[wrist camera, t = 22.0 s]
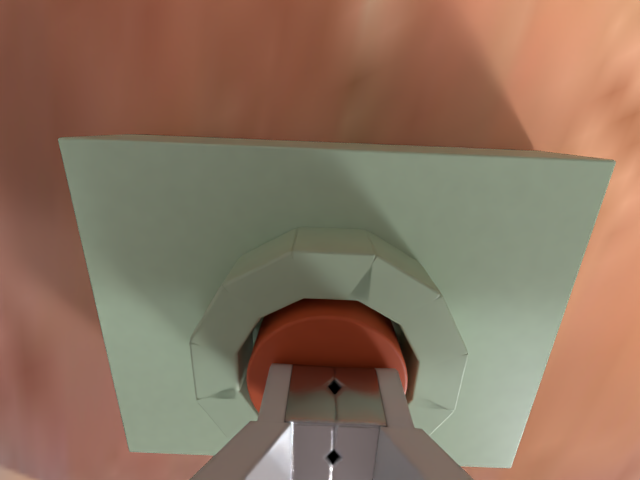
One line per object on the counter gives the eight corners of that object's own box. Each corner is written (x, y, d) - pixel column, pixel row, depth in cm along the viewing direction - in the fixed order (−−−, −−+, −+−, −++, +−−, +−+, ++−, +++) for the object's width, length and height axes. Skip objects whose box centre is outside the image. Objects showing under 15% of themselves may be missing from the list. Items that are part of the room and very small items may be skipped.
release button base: (168, 385, 15) (95, 508, 10) (129, 134, 11) (-17, 140, 6) (473, 398, 15) (543, 527, 10) (537, 150, 11) (696, 169, 6)
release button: (261, 390, 10) (248, 441, 9) (257, 277, 9) (241, 312, 7) (386, 396, 10) (398, 448, 9) (402, 284, 9) (419, 320, 7)
